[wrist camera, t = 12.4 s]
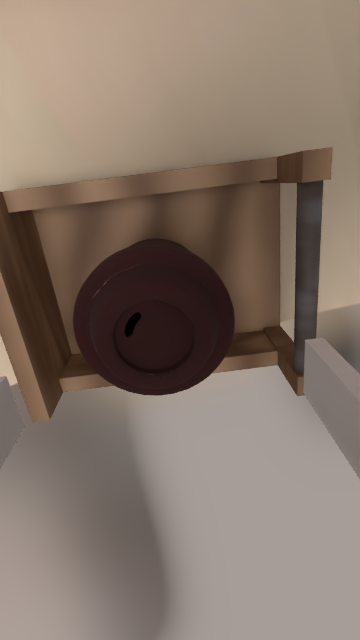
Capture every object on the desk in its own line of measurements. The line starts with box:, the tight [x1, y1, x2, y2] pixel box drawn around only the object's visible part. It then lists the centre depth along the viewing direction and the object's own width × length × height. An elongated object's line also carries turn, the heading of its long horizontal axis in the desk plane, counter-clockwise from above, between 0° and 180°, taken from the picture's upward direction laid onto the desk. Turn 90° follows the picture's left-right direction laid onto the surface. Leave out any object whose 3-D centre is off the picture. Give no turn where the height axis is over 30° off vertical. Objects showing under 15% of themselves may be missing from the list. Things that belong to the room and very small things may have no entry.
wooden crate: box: [0, 147, 332, 422], centre depth 29 cm, size 24×18×11 cm
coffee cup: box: [73, 237, 235, 395], centre depth 26 cm, size 10×10×15 cm
